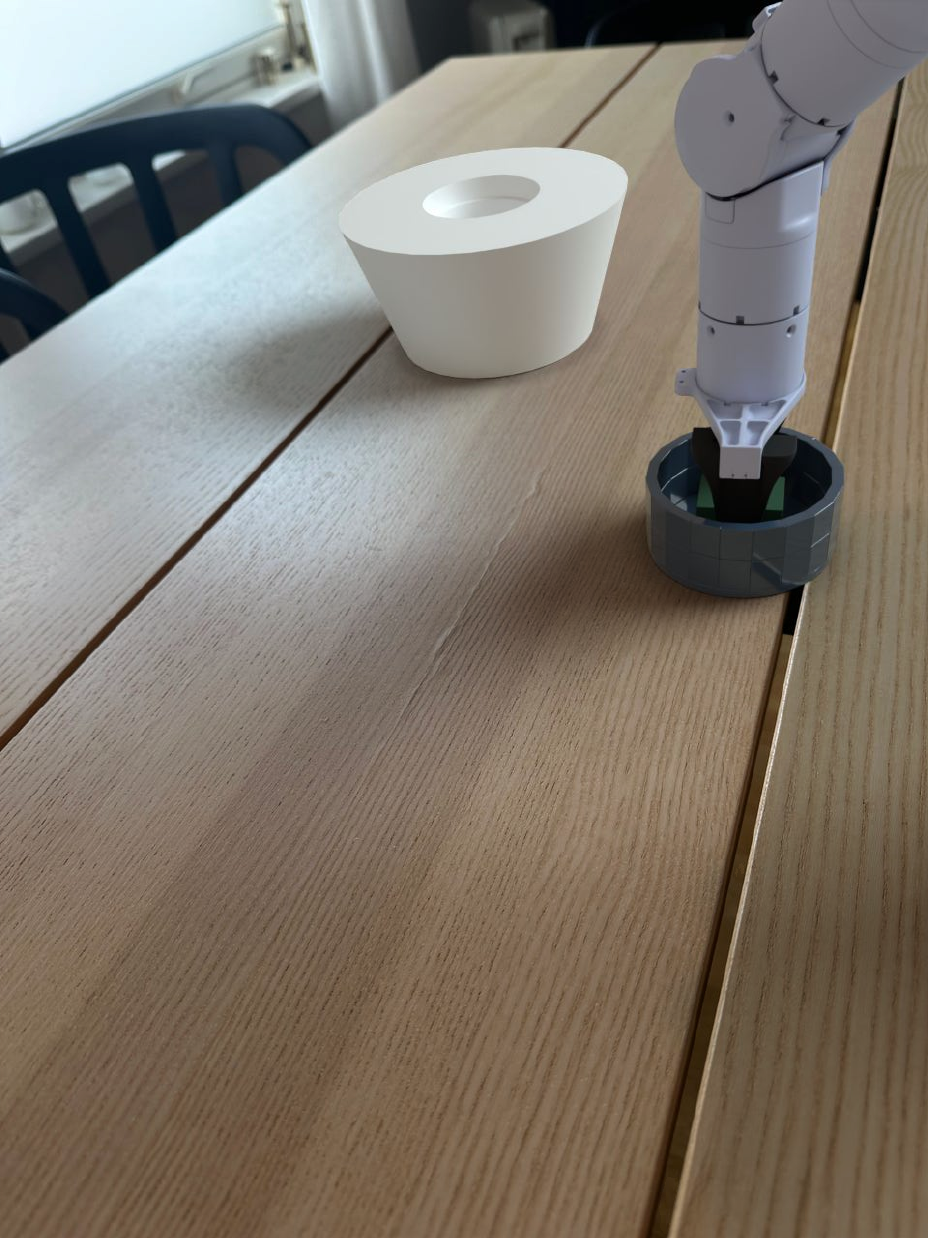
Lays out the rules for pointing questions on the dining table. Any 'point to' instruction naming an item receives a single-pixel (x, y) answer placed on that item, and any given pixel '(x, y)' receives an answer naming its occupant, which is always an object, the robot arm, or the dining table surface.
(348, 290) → the dining table surface
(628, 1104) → the dining table surface
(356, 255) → the white tapered cylinder
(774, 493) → the green rectangular block
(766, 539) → the basin
